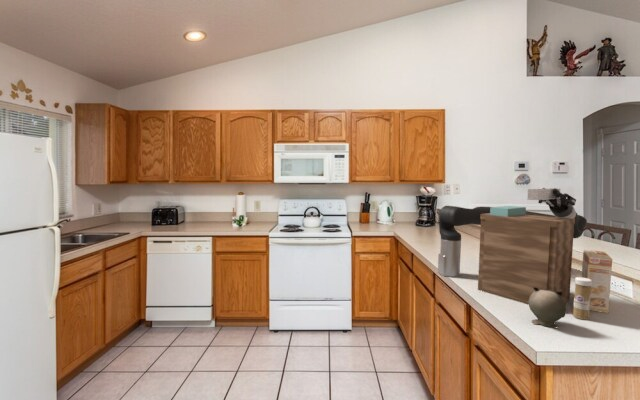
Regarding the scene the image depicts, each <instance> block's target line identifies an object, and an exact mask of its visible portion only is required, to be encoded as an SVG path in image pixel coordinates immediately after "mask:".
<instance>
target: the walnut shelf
mask: <svg viewBox="0 0 640 400" xmlns="http://www.w3.org/2000/svg"><path fill="white" fill-rule="evenodd" d="M548 216H549V215H547V216H542V215H536V214H527V213H526V214H525V215H516V216H508V217H507V216H497V215H490V213H486V214H480V219H481V225H480V231H479V234H480V235H479V253H478V254H479V255H478V257H479V258H478V259H479V260H478V275H477V277H478V278H477V279H478V280H477V290H479V291H481V290H482V292H483V291H484V292H485V293H487V294H491V295H495V296H498V297H501V298H503V299H504V298H505V299H509V300H512V301H515V302H519V303H522V304H524V305H525V304H526V305H529V298H530V296H531V294H532V293H533V292H534V291H535V290H534V289H533V287H536V288H538V290H550V291H553V292H562V295H561V296H562V297H563V298H564V300H565V302H566V305H567V304H569V303H570V295H571V293H570V292H571V282H572V281H571V279H572V267H573V266H572V263H573V262H572V261H573V246H574V238H573V234H574V224H575V219H570V218H559V217H548Z"/></svg>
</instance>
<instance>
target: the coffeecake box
mask: <svg viewBox="0 0 640 400" xmlns="http://www.w3.org/2000/svg"><path fill="white" fill-rule="evenodd" d="M612 266H613V258H612V257H611V256H610V255H609V254H608V253H607V252H606V251H603V250H602V251H601V250H592V249H591V250H589V249H583V251H582V267H581V277H583V278H588V279H591V280H592V286H591V297H590V310H589V311H594V312H598V311H601V312H600V313H604V312H606V313H605V314H609V308H610V305H609V304H610V295H611V294H610V293H611V280H612V279H611V278H612Z"/></svg>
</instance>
